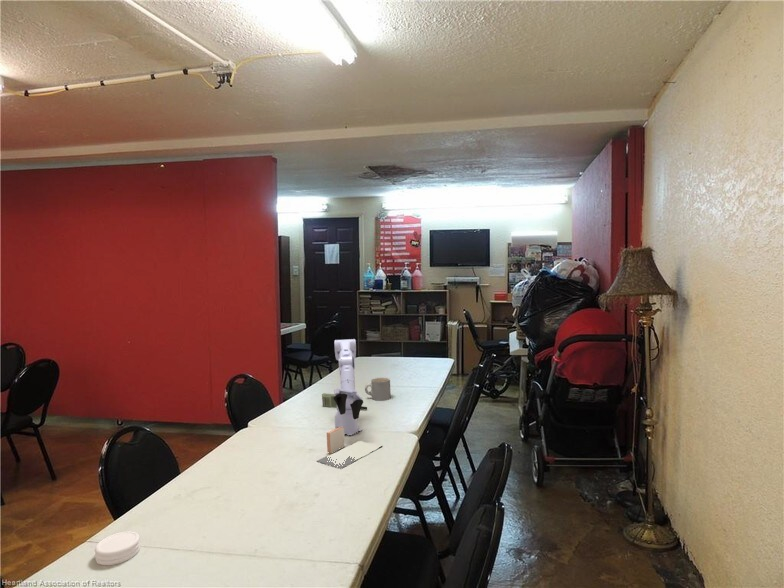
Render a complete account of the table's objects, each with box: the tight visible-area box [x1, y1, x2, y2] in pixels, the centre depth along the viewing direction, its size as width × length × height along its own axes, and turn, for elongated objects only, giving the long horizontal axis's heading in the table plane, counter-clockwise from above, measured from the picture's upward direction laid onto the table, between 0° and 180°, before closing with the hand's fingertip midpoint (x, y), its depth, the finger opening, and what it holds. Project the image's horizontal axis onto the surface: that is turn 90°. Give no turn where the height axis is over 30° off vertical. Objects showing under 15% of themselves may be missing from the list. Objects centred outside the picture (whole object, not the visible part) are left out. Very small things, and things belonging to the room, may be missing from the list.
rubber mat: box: [316, 455, 357, 469], centre depth 182 cm, size 12×24×1 cm, turn 144°
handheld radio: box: [321, 392, 368, 411], centre depth 241 cm, size 7×3×25 cm
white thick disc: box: [94, 530, 141, 566], centre depth 123 cm, size 10×10×4 cm
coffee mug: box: [364, 376, 392, 402], centre depth 256 cm, size 13×10×10 cm
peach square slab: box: [326, 427, 345, 454], centre depth 186 cm, size 2×8×8 cm, turn 144°
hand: (349, 416), depth 185 cm, fingers open, 7 cm apart
